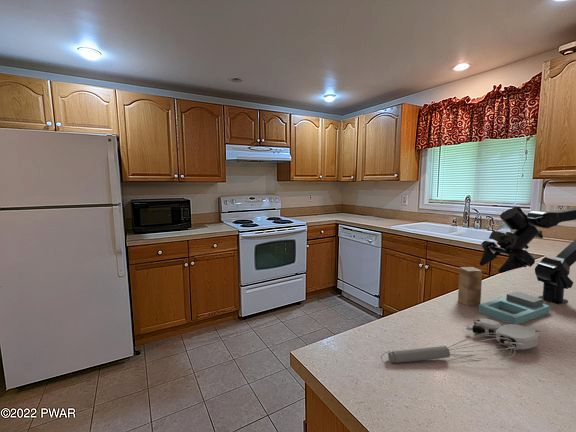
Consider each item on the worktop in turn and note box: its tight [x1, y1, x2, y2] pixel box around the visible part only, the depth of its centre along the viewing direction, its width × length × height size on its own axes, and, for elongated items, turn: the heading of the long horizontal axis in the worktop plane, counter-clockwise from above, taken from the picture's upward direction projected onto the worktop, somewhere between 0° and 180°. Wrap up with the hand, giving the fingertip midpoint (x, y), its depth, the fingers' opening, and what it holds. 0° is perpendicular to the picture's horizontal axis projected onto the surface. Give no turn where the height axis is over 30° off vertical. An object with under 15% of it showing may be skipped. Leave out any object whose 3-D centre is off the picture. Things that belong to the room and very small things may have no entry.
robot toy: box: [466, 317, 544, 351], centre depth 79 cm, size 12×4×15 cm
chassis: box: [478, 291, 551, 325], centre depth 96 cm, size 20×11×4 cm, turn 114°
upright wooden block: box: [457, 266, 483, 307], centre depth 103 cm, size 5×5×13 cm
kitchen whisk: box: [380, 333, 516, 364], centre depth 71 cm, size 6×34×6 cm, turn 93°
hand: (489, 268), depth 103 cm, fingers open, 9 cm apart
